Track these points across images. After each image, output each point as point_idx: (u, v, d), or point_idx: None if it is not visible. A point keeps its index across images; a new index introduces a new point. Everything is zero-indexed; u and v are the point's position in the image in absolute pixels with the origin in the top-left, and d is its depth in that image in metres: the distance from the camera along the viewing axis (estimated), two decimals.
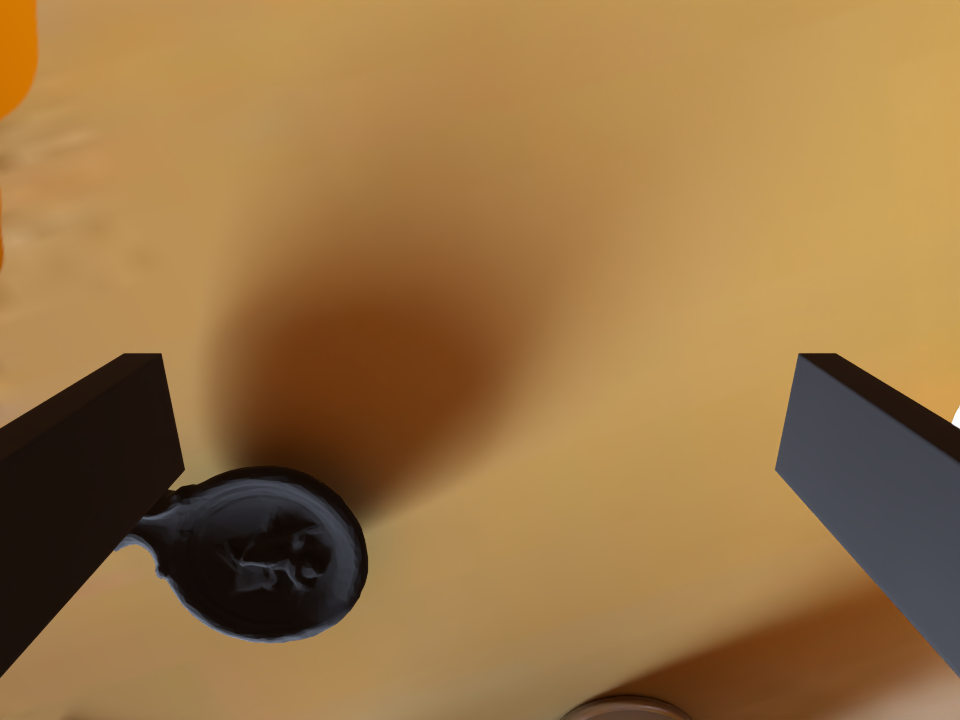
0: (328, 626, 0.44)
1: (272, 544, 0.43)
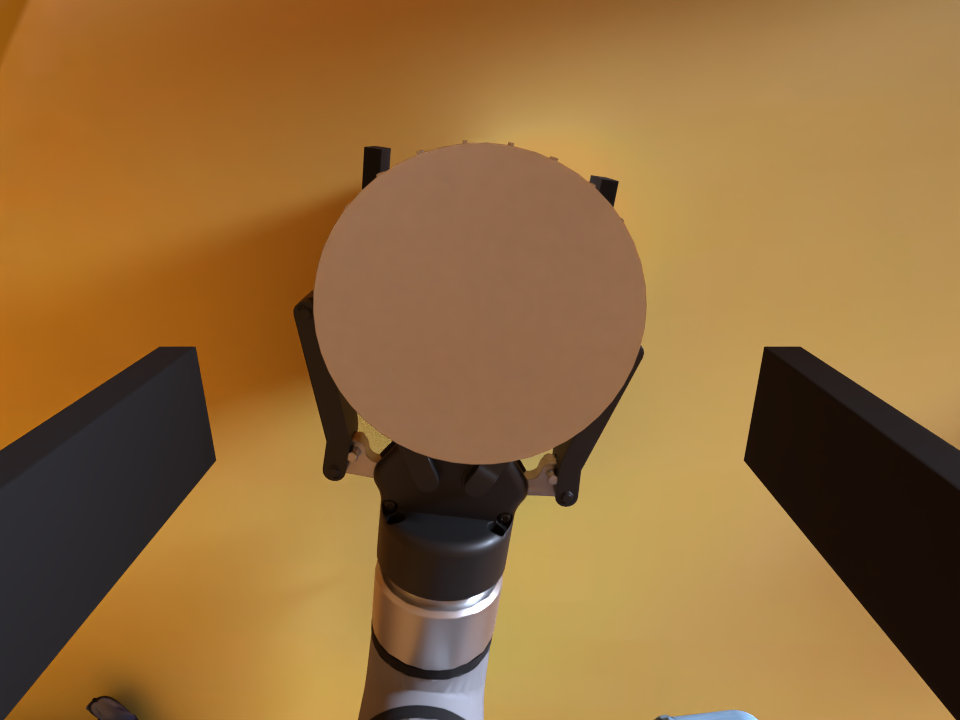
0: None
1: None
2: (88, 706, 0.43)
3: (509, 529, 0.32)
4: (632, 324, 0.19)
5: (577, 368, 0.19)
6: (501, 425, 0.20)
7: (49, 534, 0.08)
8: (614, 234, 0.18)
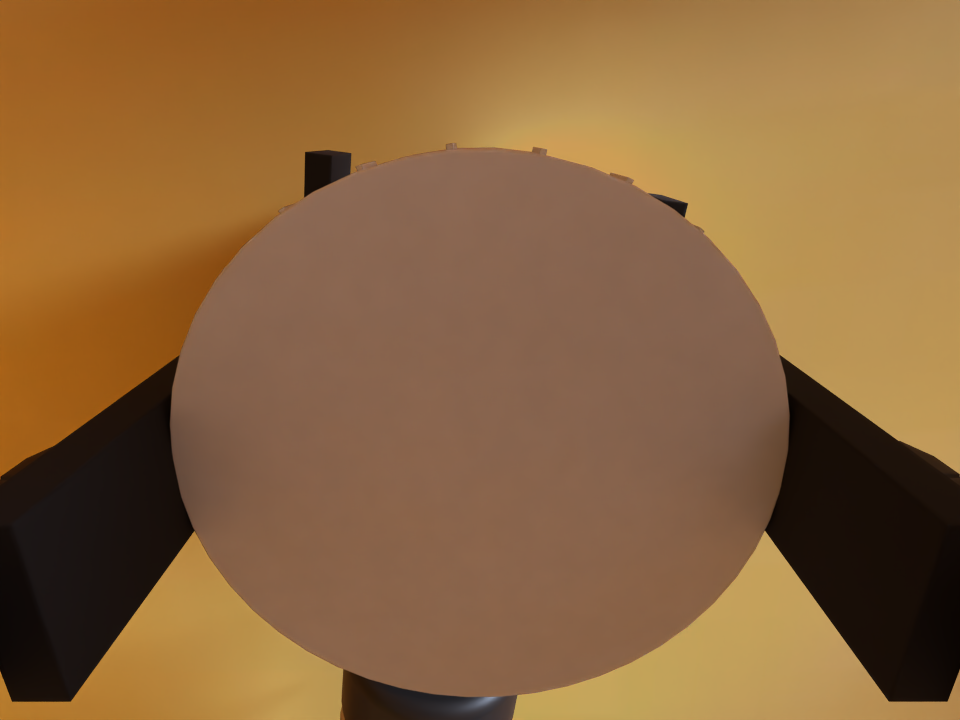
0: None
1: None
2: None
3: None
4: (760, 481, 0.10)
5: (655, 552, 0.11)
6: (516, 639, 0.12)
7: (116, 514, 0.09)
8: (739, 324, 0.09)
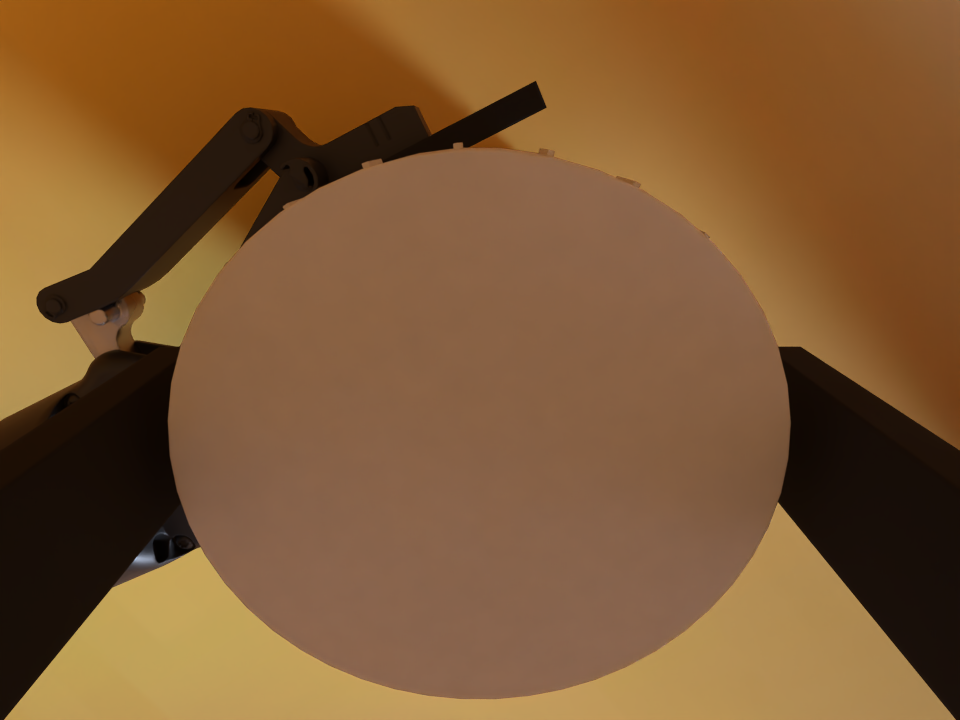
0: None
1: None
2: None
3: (174, 559, 0.22)
4: (716, 290, 0.09)
5: (687, 422, 0.10)
6: (646, 578, 0.11)
7: (49, 534, 0.08)
8: (554, 188, 0.08)
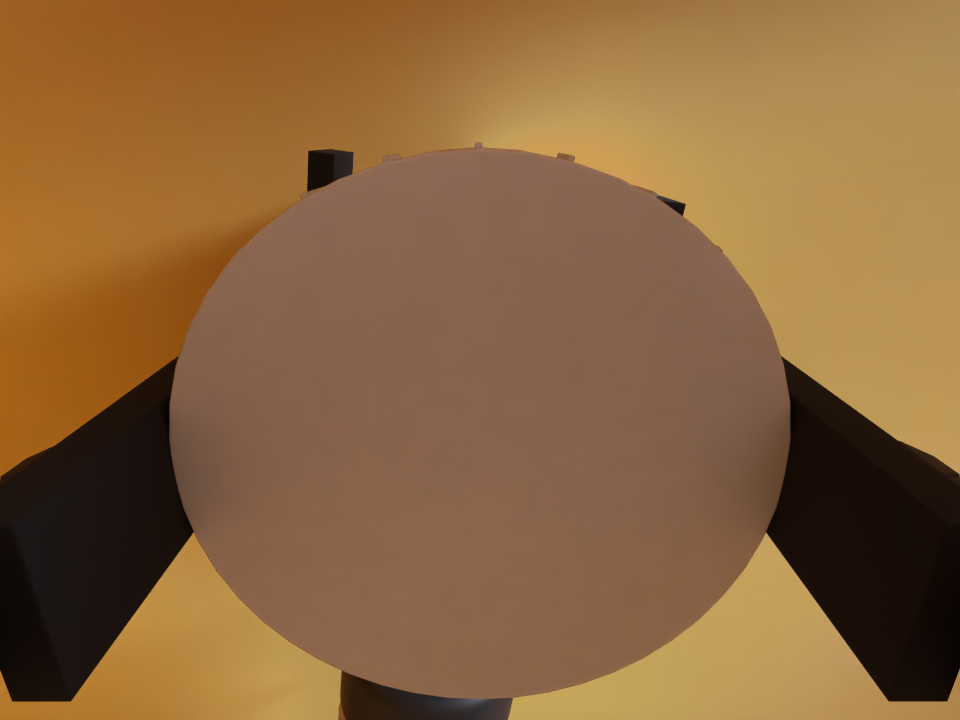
0: None
1: None
2: None
3: None
4: (428, 184, 0.08)
5: (549, 278, 0.09)
6: (695, 401, 0.10)
7: (116, 515, 0.09)
8: (256, 273, 0.09)
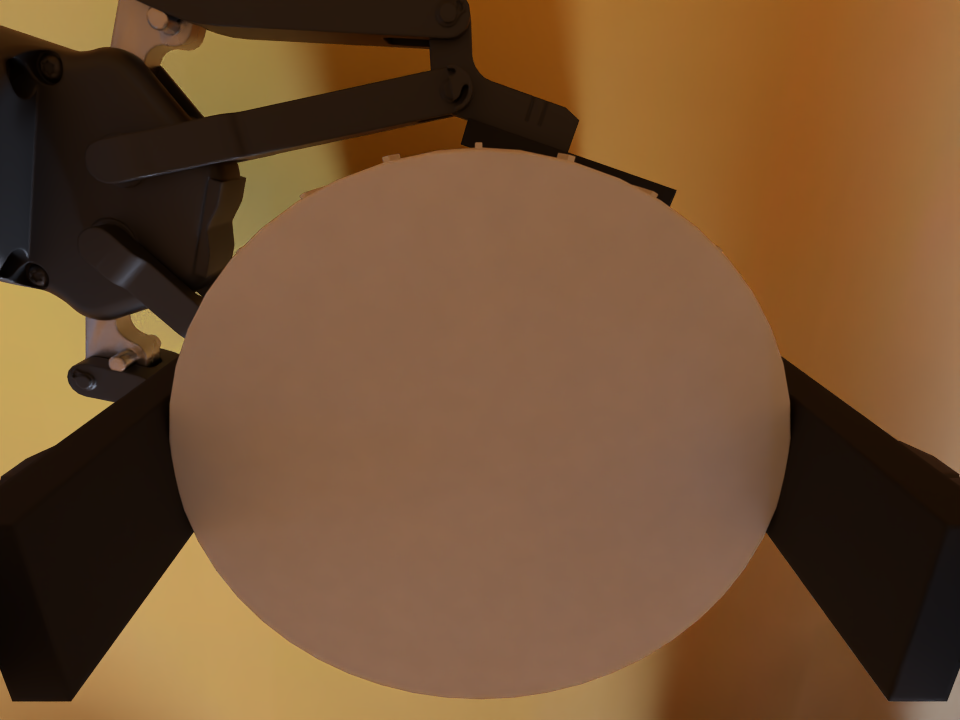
0: None
1: None
2: None
3: (13, 283, 0.19)
4: (428, 183, 0.08)
5: (549, 278, 0.09)
6: (695, 402, 0.10)
7: (116, 514, 0.09)
8: (256, 273, 0.09)
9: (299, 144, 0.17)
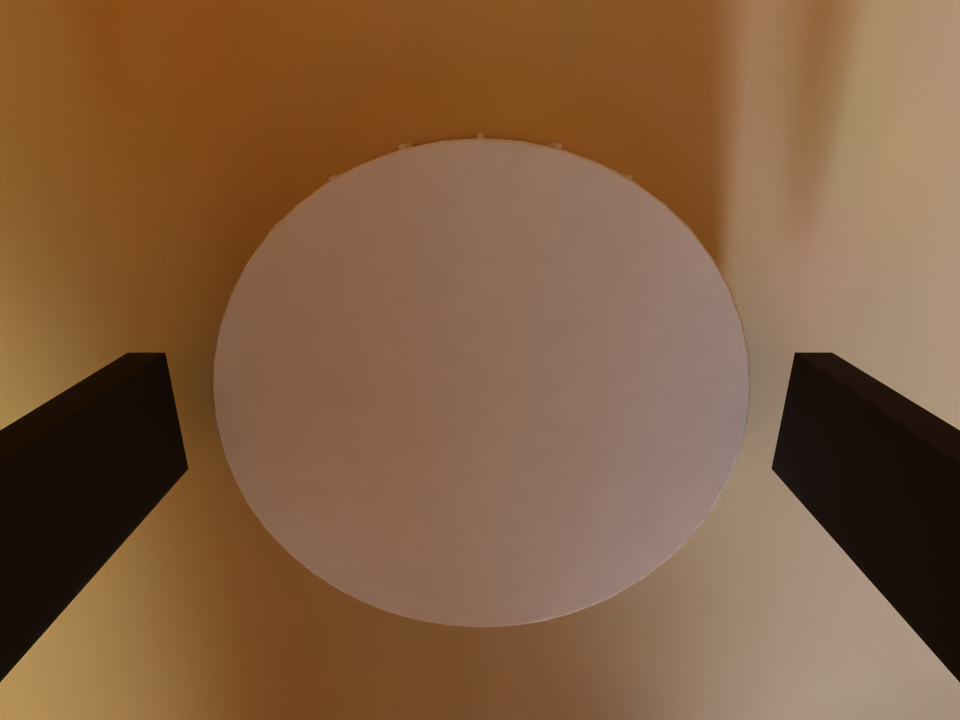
0: None
1: None
2: None
3: None
4: (438, 167, 0.10)
5: (540, 248, 0.10)
6: (667, 356, 0.11)
7: None
8: (291, 244, 0.10)
9: None
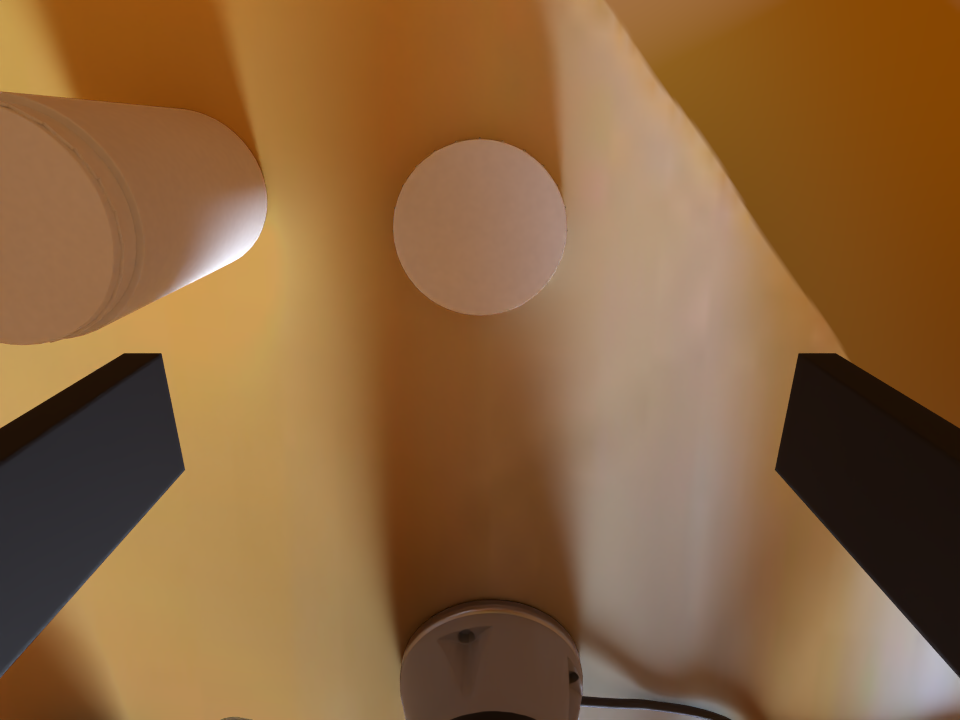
0: None
1: None
2: None
3: None
4: (467, 147, 0.34)
5: (497, 172, 0.35)
6: (539, 208, 0.35)
7: None
8: (422, 171, 0.35)
9: None
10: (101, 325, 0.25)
